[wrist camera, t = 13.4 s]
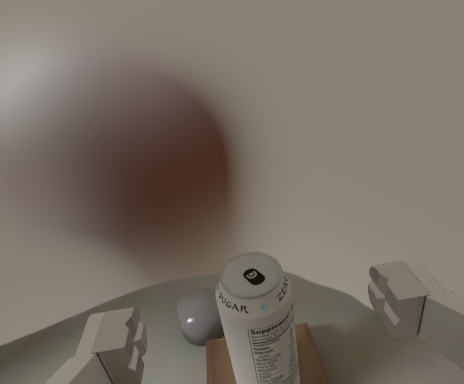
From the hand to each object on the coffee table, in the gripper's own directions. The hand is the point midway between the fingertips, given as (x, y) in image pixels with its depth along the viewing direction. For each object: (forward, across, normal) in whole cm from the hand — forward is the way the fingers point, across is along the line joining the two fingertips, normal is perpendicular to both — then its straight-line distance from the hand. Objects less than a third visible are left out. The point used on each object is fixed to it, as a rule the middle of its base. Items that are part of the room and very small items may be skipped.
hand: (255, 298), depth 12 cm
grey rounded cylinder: (+22, +6, +28) cm, 36 cm away
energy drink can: (+11, -1, +24) cm, 26 cm away
